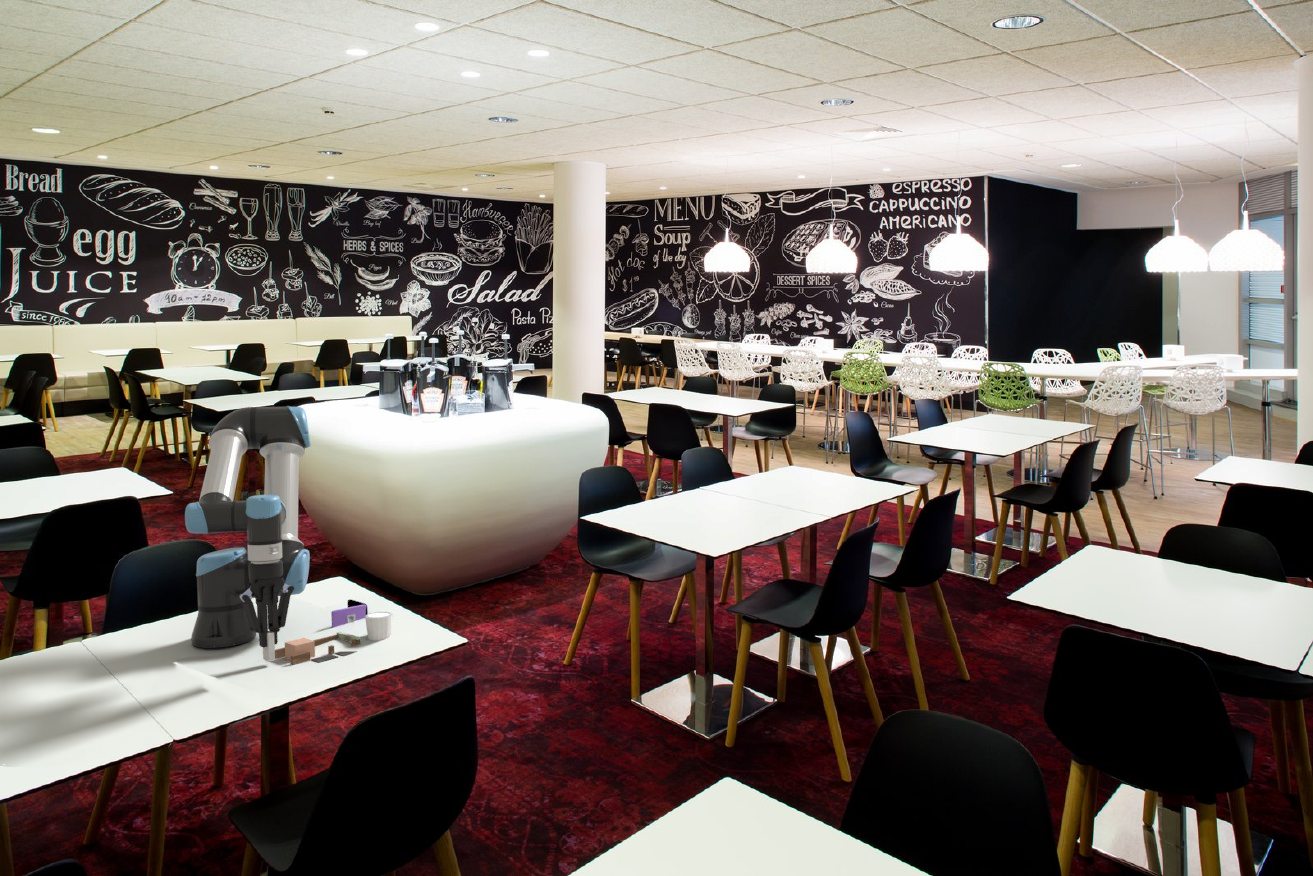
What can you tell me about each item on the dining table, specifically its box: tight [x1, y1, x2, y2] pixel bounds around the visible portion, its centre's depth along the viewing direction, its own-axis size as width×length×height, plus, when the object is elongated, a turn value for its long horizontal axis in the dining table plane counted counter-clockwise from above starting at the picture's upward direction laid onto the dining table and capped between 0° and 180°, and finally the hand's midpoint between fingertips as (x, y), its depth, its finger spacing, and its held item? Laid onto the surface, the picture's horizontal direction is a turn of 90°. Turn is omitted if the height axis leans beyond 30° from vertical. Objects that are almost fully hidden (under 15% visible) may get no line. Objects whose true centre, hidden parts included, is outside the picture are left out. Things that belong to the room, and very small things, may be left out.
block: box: [284, 637, 316, 661], centre depth 222 cm, size 5×5×4 cm
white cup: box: [364, 611, 394, 641], centre depth 235 cm, size 7×7×7 cm
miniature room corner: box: [330, 599, 369, 628], centre depth 249 cm, size 12×12×7 cm
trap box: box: [275, 631, 362, 666], centre depth 225 cm, size 12×18×2 cm
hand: (269, 659), depth 216 cm, fingers closed
